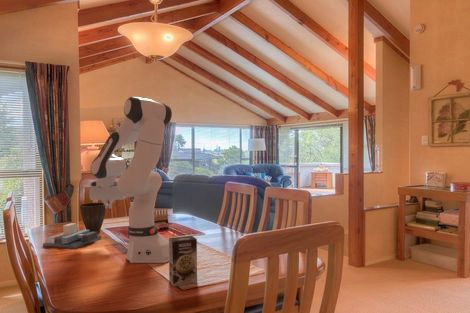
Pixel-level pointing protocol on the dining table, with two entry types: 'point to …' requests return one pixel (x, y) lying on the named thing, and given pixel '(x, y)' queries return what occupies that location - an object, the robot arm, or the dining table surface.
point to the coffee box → (182, 260)
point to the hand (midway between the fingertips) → (108, 208)
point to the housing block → (69, 229)
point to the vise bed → (57, 242)
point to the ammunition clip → (163, 217)
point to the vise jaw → (80, 236)
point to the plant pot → (93, 215)
